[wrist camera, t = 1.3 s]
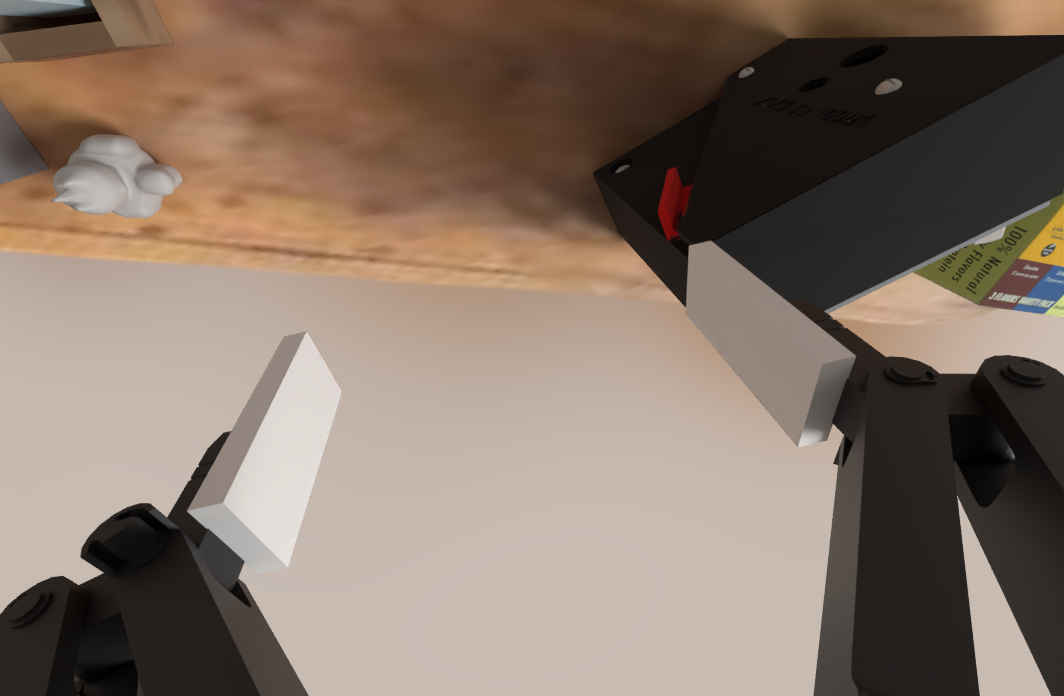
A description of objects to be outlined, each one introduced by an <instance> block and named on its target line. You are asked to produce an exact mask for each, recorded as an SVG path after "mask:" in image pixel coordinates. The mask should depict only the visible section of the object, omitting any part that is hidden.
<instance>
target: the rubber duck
mask: <svg viewBox="0 0 1064 696" xmlns="http://www.w3.org/2000/svg"><path fill="white" fill-rule="evenodd" d="M53 182H54V187H55V190H56V192H57V194H58V196H56V197H55V198H54V199H53V200H52V202H64V203H65V204H67V205H69V206H70V207H72V208H73V209H75V210H77V211H81V212H84V213H88V214H95V215H101V214H107V213H110V212H113V213H115V214H117V215H120V216H123V217H128V218H149V217H151V216H153V215H154V214H155V213H157V212H158V211H159V209H160V208H161V201H162V200H163V197H164V196H167V195H171V194H172V192H173V191H174V189H175V188H177V187H178V186H179V185H180V184H181V183H182V176H181V174H180V173H179V171H178V170H176V169H175V168H174V167H172V166H169V165H166V164H156V163H155V161H154V160H153V159H152V158H151V157H150V155H148V154H147V153H146V152H145V151H143V150H142V149H141V148H140V147H139V145H138V143H137V142H136V141H135V140H134V139H132V138H130V137H128V136H124V135H112V134H100V135H92V136H90V137H88V138H86V139H85V140H83V141H82V142H81V144H80V146H79V149H78V150H76V151H75V152H74V153H72V155H71V156H70V158H69V161H68V163H67V165H66V166H64V167H62V168H61V169H59V170H58V171H57V172H56V174H55V175H54V179H53Z"/></svg>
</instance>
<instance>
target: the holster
mask: <svg viewBox="0 0 1064 696" xmlns="http://www.w3.org/2000/svg"><path fill="white" fill-rule="evenodd" d="M91 1H92V3H93V5H94V7H95V9H96V11H97V12H98V14H99V16H100V18H101V20H102V21H100V22H92V23H84V24H77V25H69V26H61V27H54V28H45V27H44V25H43V23H42V22H41V20H40V19H39V17H25V16H9V15H0V63H17V62H40V61H50V60H58V59H65V58H73V57H80V56H88V55H95V54H103V53H110V52H117V51H125V50H132V49H140V48H147V47H155V46H162V45H170V44H173V42H172V40H171V38H170V36H169V34H168V32H167V30H166V28H165V26H164V24H163V22H162V20H161V17H160V15H159V13H158V11H157V9H156V7H155V5H154V3H153V1H152V0H91Z"/></svg>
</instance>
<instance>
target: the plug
mask: <svg viewBox="0 0 1064 696" xmlns="http://www.w3.org/2000/svg"><path fill="white" fill-rule="evenodd" d="M92 13H98V12H97V11H96V9H95V7H94V5H93V3H92V1H91V0H0V15H9V16H25V17H41V18H61V17H68V16H76V15H84V14H92Z"/></svg>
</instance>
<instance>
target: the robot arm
mask: <svg viewBox="0 0 1064 696" xmlns="http://www.w3.org/2000/svg"><path fill="white" fill-rule="evenodd" d="M686 314H687V316H688V317H689V318H690V319H691V320H692V322H693V323H694V324H695V325H696V326H697V327H698V329H699V330H700V331H701V332H702V334H703V335H704V336H705V337H706V338H707V340H708V341H709V342H710V343H711V344H712V345H713V346H714V348H715V349H716V350H717V351H718V353H719V354H720V355H721V356H722V357H723V358H724V360H725V361H726V362H727V363H728V365H730V367H731V368H732V369H733V370H734V372H735V373H736V374H737V375H738V376H739V378H740V379H741V380H742V381H743V382H744V384H745V385H746V386H747V387H748V388H749V389H750V391H751V392H752V393H753V394H754V395H755V397H756V398H757V399H758V400H759V401H760V403H761V404H762V405H763V406H764V407H765V409H766V410H767V411H768V412H769V413H770V415H771V416H772V417H773V418H774V419H775V420H776V422H777V423H778V424H779V425H780V426H781V427H782V429H783V430H784V431H785V432H786V434H787V435H788V436H789V437H790V438H791V440H792V441H793V442H794V443H795V444H796V445H797V447H801V446H805V445H810V444H814V443H818V442H822V441H826V440H827V439H828V436H829V433H830V430H831V427H832V424H834V425H835V426H836V427H837V428H838V429H839V430H840V431H841V432H842V433H843V434H844V436H843V439H842V442H841V444H840V447H839V450H838V452H837V455H836V458H835V460H834V463H833V464H836V465H838V473H837V483H836V492H835V502H834V510H833V519H832V529H831V538H830V547H829V557H828V566H827V576H826V585H825V594H824V603H823V613H822V623H821V631H820V642H819V650H818V660H817V669H816V679H815V688H814V696H980V695H979V686H978V677H977V668H976V659H975V650H974V641H973V632H972V623H971V615H970V607H969V597H968V588H967V579H966V571H965V561H964V552H963V544H962V535H961V526H960V517H959V508H958V499H957V496H958V498H959V500H960V502H961V504H962V506H963V508H964V511H965V513H966V515H967V517H968V519H969V521H970V523H971V525H972V527H973V530H974V532H975V534H976V536H977V538H978V540H979V542H980V545H981V547H982V549H983V551H984V553H985V555H986V557H987V560H988V562H989V564H990V566H991V568H992V570H993V572H994V574H995V577H996V578H997V581H998V583H999V585H1000V587H1001V589H1002V591H1003V593H1004V596H1005V598H1006V600H1007V602H1008V604H1009V606H1010V608H1011V611H1012V613H1013V615H1014V617H1015V619H1016V621H1017V623H1018V626H1019V628H1020V630H1021V632H1022V634H1023V636H1024V638H1025V640H1026V643H1027V645H1028V647H1029V649H1030V651H1031V653H1032V655H1033V657H1034V660H1035V662H1036V664H1037V666H1038V668H1039V670H1040V672H1041V675H1042V676H1043V679H1044V681H1045V683H1046V685H1047V687H1048V689H1049V691H1050V694H1051V696H1064V375H1063V374H1061V373H1060V372H1059V371H1057V370H1056V369H1054V368H1052V367H1050V366H1048V365H1046V364H1044V363H1042V362H1039V361H1036V360H1032V359H1029V358H1025V357H1017V356H1010V355H1005V356H1004V355H1003V356H993V357H990V358H988V359H985V360H984V362H983V363H982V365H981V366H980V368H979V370H978V372H977V373H976V374H939V373H938V372H937V371H936V370H934V369H933V368H932V367H930V366H928V365H926V364H924V363H922V362H920V361H917V360H912V359H909V358H904V357H885V356H883V355H882V354H881V353H880V352H878V351H877V350H876V349H874V348H873V347H872V346H870V345H869V344H868V343H866V342H865V341H863V340H862V339H861V338H859V337H858V336H857V335H855V334H854V333H853V332H851V331H850V330H849V329H847V328H844V326H843V325H842V324H840V323H839V322H838V321H837V320H833V317H831V316H830V315H829V314H827V313H826V312H824V311H823V310H822V309H820V308H819V307H817V306H814V305H812V304H809V303H806V302H804V301H801V300H798V301H793V302H787V301H786V300H785V299H784V298H782V297H781V296H780V295H779V294H777V293H776V292H775V291H774V290H772V289H771V288H770V287H769V286H767V285H766V284H765V283H764V282H762V281H761V280H760V279H758V278H757V277H756V276H755V275H753V274H752V273H751V272H750V271H748V270H747V269H746V268H745V267H743V266H742V265H741V264H740V263H738V262H737V261H736V260H735V259H733V258H732V257H731V256H730V255H728V254H727V253H726V252H724V251H723V250H722V249H721V248H719V247H718V246H717V245H716V244H714V243H713V242H712V241H707V242H703V243H698V244H694V245H689V256H688V277H687V298H686ZM341 393H342V392H341V390H340V388H339V386H338V385H337V383H336V381H335V380H334V378H333V376H332V374H331V373H330V371H329V369H328V368H327V366H326V364H325V362H324V361H323V359H322V358H321V356H320V354H319V352H318V350H317V349H316V347H315V345H314V343H313V342H312V340H311V338H310V337H309V335H308V333H307V332H302V333H298V334H294V335H289V336H284V337H283V339H282V341H281V343H280V344H279V346H278V348H277V350H276V352H275V353H274V355H273V357H272V359H271V361H270V363H269V364H268V366H267V368H266V370H265V372H264V374H263V375H262V377H261V379H260V381H259V382H258V384H257V386H256V388H255V390H254V391H253V393H252V395H251V397H250V399H249V400H248V402H247V404H246V406H245V408H244V409H243V411H242V413H241V415H240V417H239V418H238V421H237V422H236V424H235V426H234V427H233V429H232V431H229V432H225V433H223V434H222V435H221V436H220V437H219V438H218V439H217V440H216V441H215V442H214V443H213V444H212V445H211V446H210V447H209V448H208V449H207V451H206V453H205V454H204V456H203V458H202V459H201V461H200V463H199V467H197V468H196V470H195V471H194V473H193V475H192V476H191V480H190V481H189V482H188V483H187V485H186V486H185V488H184V490H183V492H182V493H181V495H180V497H179V499H178V500H177V502H176V504H175V505H174V507H173V509H172V510H171V512H170V514H169V515H168V517H165V516H164V515H163V514H162V513H161V512H159V511H158V510H157V509H156V508H155V507H153V506H152V505H151V504H150V503H140V504H136V505H133V506H130V507H127V508H125V509H123V510H121V511H120V512H118V513H116V514H114V515H113V516H111V517H110V518H109V519H107V520H106V521H105V522H103V523H102V524H101V525H100V526H99V527H98V528H97V529H96V530H95V531H94V532H93V533H92V534H91V535H90V536H89V537H88V539H87V540H86V542H85V544H84V545H83V547H82V550H81V558H82V559H84V560H85V561H87V562H88V563H90V564H92V565H93V566H94V567H96V568H98V569H99V570H101V571H102V572H104V573H103V574H101V575H99V576H97V577H95V578H93V579H91V580H89V581H87V582H85V583H82V584H80V585H77V584H76V583H74V582H73V581H71V580H69V579H68V578H66V577H64V576H59V577H51V578H49V579H47V580H44V581H42V582H40V583H37V584H36V585H35V586H33V587H31V588H30V589H28V590H27V591H25V592H23V593H22V594H21V595H19V596H18V597H17V598H16V599H14V600H13V601H12V602H11V603H10V604H9V605H8V606H7V607H6V608H5V609H4V611H3V612H2V613H1V614H0V696H308V694H307V692H306V690H305V688H304V687H303V685H302V683H301V681H300V680H299V678H298V676H297V674H296V673H295V671H294V669H293V667H292V666H291V664H290V662H289V660H288V659H287V657H286V655H285V654H284V652H283V650H282V648H281V646H280V644H279V643H278V641H277V639H276V637H275V636H274V634H273V632H272V630H271V629H270V627H269V625H268V624H267V622H266V620H265V618H264V616H263V615H262V613H261V611H260V609H259V607H258V606H257V604H256V602H255V600H254V599H253V597H252V595H251V593H250V592H249V590H248V588H247V587H246V585H245V584H244V583H243V582H242V581H241V580H240V579H238V577H239V574H240V572H241V569H242V566H243V564H244V563H245V564H246V565H247V566H249V568H251V569H252V570H253V571H254V572H255V573H256V574H262V573H266V572H270V571H275V570H279V569H283V568H287V567H288V565H289V562H290V559H291V556H292V552H293V549H294V546H295V542H296V539H297V536H298V533H299V529H300V526H301V523H302V520H303V517H304V513H305V510H306V507H307V504H308V500H309V497H310V494H311V491H312V487H313V484H314V481H315V478H316V474H317V471H318V468H319V464H320V461H321V458H322V455H323V451H324V448H325V445H326V442H327V438H328V435H329V432H330V428H331V425H332V422H333V419H334V416H335V412H336V409H337V406H338V402H339V399H340V396H341Z"/></svg>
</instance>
